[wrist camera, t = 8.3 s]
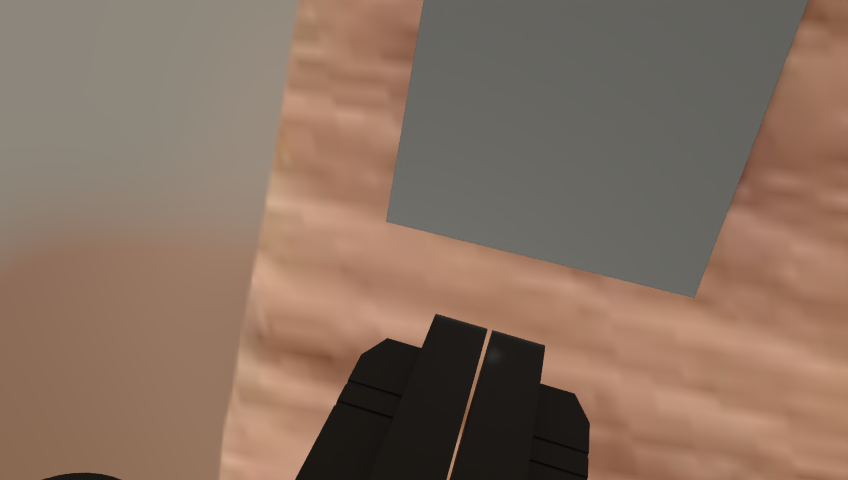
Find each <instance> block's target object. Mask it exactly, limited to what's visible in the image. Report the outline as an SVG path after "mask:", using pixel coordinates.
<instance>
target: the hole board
mask: <svg viewBox="0 0 848 480" xmlns="http://www.w3.org/2000/svg"><path fill="white" fill-rule="evenodd" d="M807 3H808V0H424V1H423V7H422V13H421V19H420V25H419V31H418V37H417V43H416V48H415V54H414V60H413V66H412V72H411V78H410V84H409V90H408V95H407V101H406V107H405V113H404V119H403V125H402V131H401V137H400V142H399V148H398V154H397V160H396V166H395V172H394V178H393V184H392V189H391V195H390V201H389V207H388V213H387V219H386V222H389V223H393V224H397V225H401V226H406V227H410V228H414V229H418V230H422V231H426V232H430V233H434V234H438V235H442V236H446V237H450V238H454V239H458V240H462V241H466V242H470V243H474V244H478V245H482V246H486V247H490V248H494V249H499V250H503V251H507V252H511V253H515V254H519V255H523V256H527V257H531V258H535V259H539V260H543V261H547V262H551V263H555V264H559V265H563V266H567V267H571V268H575V269H579V270H583V271H587V272H592V273H596V274H600V275H604V276H608V277H612V278H616V279H620V280H624V281H628V282H632V283H636V284H640V285H644V286H648V287H652V288H656V289H660V290H664V291H668V292H672V293H676V294H681V295H685V296H689V297H693V298H695V295H696V292H697V290H698V287H699V285H700V282H701V279H702V277H703V274H704V272H705V269H706V266H707V264H708V261H709V258H710V256H711V253H712V251H713V248H714V245H715V243H716V240H717V238H718V235H719V232H720V230H721V227H722V225H723V222H724V219H725V217H726V214H727V212H728V209H729V206H730V204H731V201H732V198H733V196H734V193H735V191H736V188H737V185H738V183H739V180H740V178H741V175H742V172H743V170H744V167H745V165H746V162H747V159H748V157H749V154H750V152H751V149H752V146H753V144H754V141H755V138H756V136H757V133H758V131H759V128H760V125H761V123H762V120H763V118H764V115H765V112H766V110H767V107H768V105H769V102H770V99H771V97H772V94H773V91H774V89H775V86H776V84H777V81H778V78H779V76H780V73H781V71H782V68H783V65H784V63H785V60H786V58H787V55H788V52H789V50H790V47H791V45H792V42H793V39H794V37H795V34H796V31H797V29H798V26H799V24H800V21H801V18H802V16H803V13H804V11H805V8H806V5H807Z"/></svg>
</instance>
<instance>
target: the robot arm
mask: <svg viewBox="0 0 848 480" xmlns="http://www.w3.org/2000/svg"><path fill="white" fill-rule="evenodd" d="M486 333H487V329H486V328H483V327H479V326H476V325H472V324H469V323H466V322H462V321H459V320H455V319H452V318H448V317H445V316H442V315H438V314H436V315H435V317H434V319H433V322H432V324H431V326H430V329H429V331H428V334H427V336H426V339H425V341H424V344H423V346H422V348H419V347H415V346H412V345H409V344H405V343H402V342H399V341H395V340H392V339H389V338H387V339H385V340H384V341H382V342H381V343H379V344H378V345H376V346H374V347H373V348H371V349H370V350H368V351H366V352H365V353H363V354H362V355H361V356H360V358H359V360H358V362H357V364H356V366H355V368H354V370H353V371H352V373H351V375H350V377H349V379H348V382H347V384H346V385H345V387H344V388H343V390H342V392H341V394H340V396H339V398H338V400H337V403H336V405H334V407H333V409H332V411H331V413H330V415H329V417H328V419H327V420H326V422H325V424H324V426H323V428H322V430H321V432H320V434H319V436H318V437H317V439H316V441H315V443H314V445H313V447H312V449H311V451H310V453H309V454H308V456H307V458H306V460H305V462H304V464H303V466H302V468H301V470H300V471H299V473H298V475H297V477H296V479H295V480H446V479H447V475H448V472H449V468H450V465H451V461H452V457H453V454H454V450H455V446H456V443H457V439H458V435H459V432H460V428H461V424H462V421H463V417H464V413H465V410H466V406H467V402H468V399H469V395H470V392H471V388H472V384H473V381H474V377H475V373H476V370H477V366H478V362H479V359H480V355H481V351H482V348H483V344H484V340H485V337H486ZM544 352H545V345H541V344H538V343H535V342H531V341H528V340H524V339H521V338H517V337H514V336H511V335H507V334H504V333H500V332H497V331H494V330H492V333H491V336H490V339H489V343H488V346H487V350H486V353H485V357H484V360H483V364H482V367H481V371H480V374H479V377H478V381H477V384H476V388H475V391H474V395H473V398H472V402H471V405H470V409H469V412H468V416H467V419H466V422H465V426H464V429H463V433H462V437H461V440H460V444H459V447H458V451H457V454H456V458H455V462H454V465H453V469H452V473H451V477H450V480H587V478H588V458H587V457H588V453H589V429H590V423H589V421H588V419H587V417H586V415H585V413H584V411H583V409H582V407H581V405H580V403H579V401H578V399H577V397H576V395H575V394H574V393H570V392H567V391H564V390H560V389H557V388H554V387H550V386H547V385H544V384H540V381H541V373H542V366H543V359H544ZM43 480H120V479H117V478H115V477H112V476H107V475H103V474H96V473H95V474H94V473H71V474H64V475H58V476H54V477H51V478H46V479H43Z"/></svg>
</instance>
